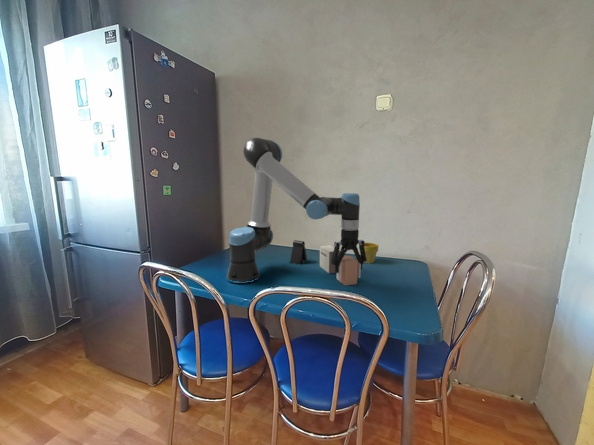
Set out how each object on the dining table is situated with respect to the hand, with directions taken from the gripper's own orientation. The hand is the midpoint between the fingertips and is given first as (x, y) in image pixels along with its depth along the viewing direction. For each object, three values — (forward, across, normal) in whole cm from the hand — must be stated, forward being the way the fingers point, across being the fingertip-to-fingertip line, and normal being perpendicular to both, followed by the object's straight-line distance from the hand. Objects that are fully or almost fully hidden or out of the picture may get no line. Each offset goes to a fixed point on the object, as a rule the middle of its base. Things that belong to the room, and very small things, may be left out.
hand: (348, 278), depth 127 cm
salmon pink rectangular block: (+2, 0, +2) cm, 3 cm away
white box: (+2, 0, +20) cm, 20 cm away
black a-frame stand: (+3, -11, +37) cm, 39 cm away
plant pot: (+3, +26, +25) cm, 36 cm away
